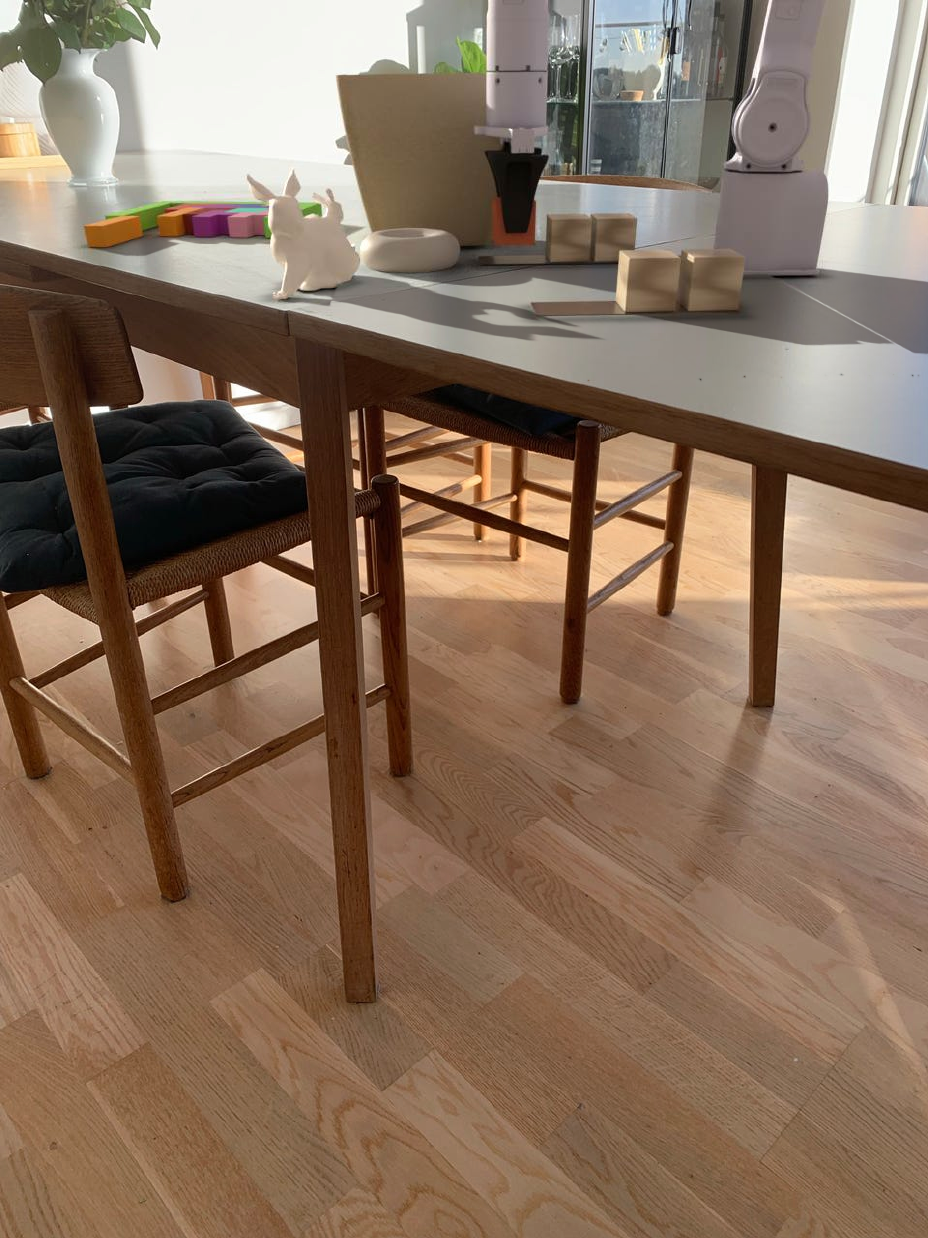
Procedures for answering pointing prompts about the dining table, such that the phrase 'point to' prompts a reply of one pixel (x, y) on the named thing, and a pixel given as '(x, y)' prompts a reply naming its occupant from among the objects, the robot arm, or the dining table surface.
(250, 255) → the dining table surface
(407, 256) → the donut
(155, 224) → the toy blocks
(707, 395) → the dining table surface
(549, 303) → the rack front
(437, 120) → the flower pot
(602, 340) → the dining table surface
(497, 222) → the rust orange cube
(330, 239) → the rabbit figurine
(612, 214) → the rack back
